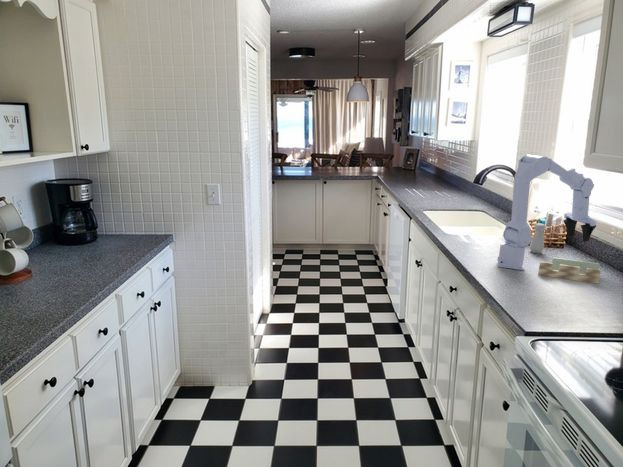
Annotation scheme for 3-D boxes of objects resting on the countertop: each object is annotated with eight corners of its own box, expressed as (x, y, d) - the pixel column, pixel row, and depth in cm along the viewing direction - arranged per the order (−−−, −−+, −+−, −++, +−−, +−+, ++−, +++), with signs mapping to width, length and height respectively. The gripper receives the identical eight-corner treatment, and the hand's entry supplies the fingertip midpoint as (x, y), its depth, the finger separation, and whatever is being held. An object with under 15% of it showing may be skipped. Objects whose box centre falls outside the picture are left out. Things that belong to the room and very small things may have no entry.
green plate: (550, 270, 186) (552, 258, 185) (550, 269, 187) (552, 257, 186) (597, 276, 181) (599, 264, 180) (596, 275, 182) (598, 263, 181)
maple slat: (538, 274, 180) (540, 262, 179) (538, 273, 181) (540, 261, 180) (598, 283, 173) (600, 270, 172) (597, 282, 174) (600, 269, 173)
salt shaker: (544, 254, 208) (549, 225, 204) (530, 253, 209) (535, 224, 205) (540, 251, 213) (545, 222, 210) (527, 249, 214) (531, 221, 211)
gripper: (603, 208, 185) (601, 241, 189) (575, 201, 198) (573, 232, 202) (588, 211, 183) (586, 244, 187) (560, 204, 197) (559, 235, 201)
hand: (578, 238), depth 195 cm, fingers open, 7 cm apart
